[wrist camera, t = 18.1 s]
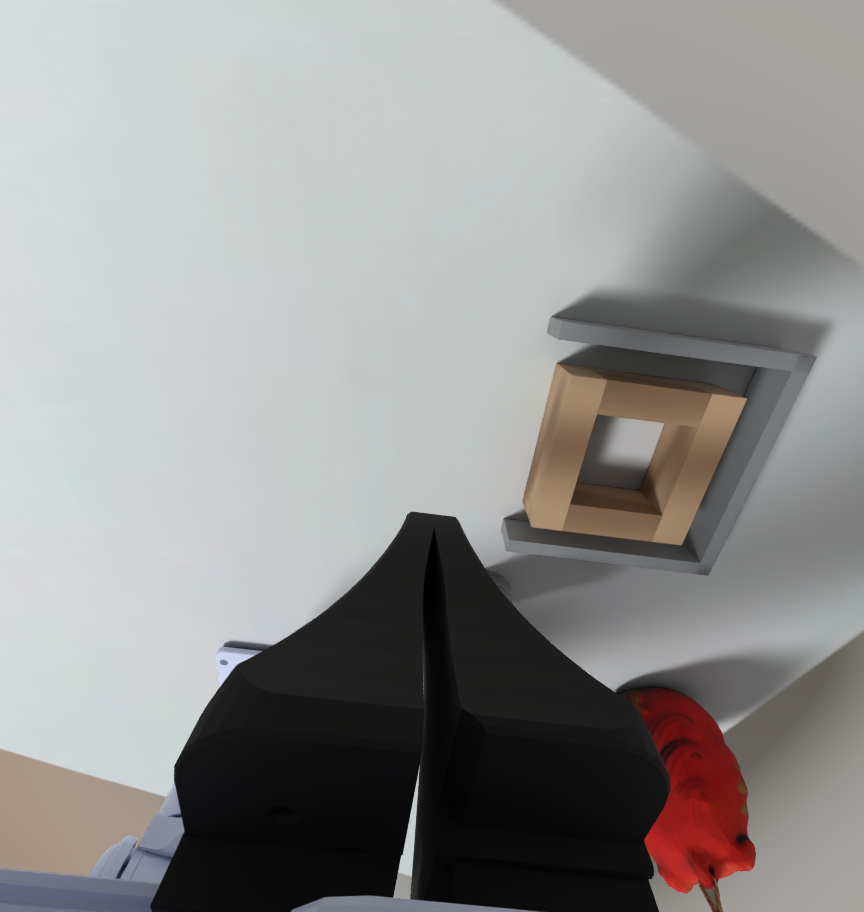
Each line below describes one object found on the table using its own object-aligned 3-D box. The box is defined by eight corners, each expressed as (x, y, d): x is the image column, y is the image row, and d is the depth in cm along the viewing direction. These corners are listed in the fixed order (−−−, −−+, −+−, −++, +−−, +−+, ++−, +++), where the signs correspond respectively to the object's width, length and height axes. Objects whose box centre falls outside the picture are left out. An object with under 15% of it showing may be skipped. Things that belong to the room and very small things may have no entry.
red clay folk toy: (629, 756, 31) (776, 1137, 17) (565, 714, 29) (671, 1099, 16) (718, 705, 29) (970, 1102, 15) (654, 656, 27) (871, 1052, 13)
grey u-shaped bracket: (687, 552, 24) (708, 575, 22) (501, 529, 23) (506, 550, 21) (780, 348, 19) (816, 356, 17) (550, 316, 19) (562, 321, 17)
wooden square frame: (657, 517, 23) (681, 545, 21) (522, 501, 23) (531, 527, 20) (711, 384, 20) (747, 398, 18) (556, 363, 20) (571, 375, 17)
